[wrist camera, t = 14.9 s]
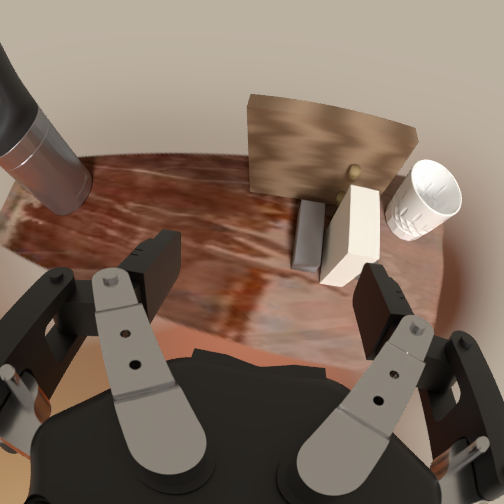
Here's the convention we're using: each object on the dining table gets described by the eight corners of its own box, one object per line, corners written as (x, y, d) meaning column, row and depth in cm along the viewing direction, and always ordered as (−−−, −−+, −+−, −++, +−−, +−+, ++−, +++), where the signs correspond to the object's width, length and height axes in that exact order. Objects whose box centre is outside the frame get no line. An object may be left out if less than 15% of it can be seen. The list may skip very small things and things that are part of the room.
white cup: (420, 254, 36) (459, 227, 27) (375, 230, 38) (406, 195, 28) (429, 211, 39) (463, 178, 29) (387, 188, 40) (415, 149, 30)
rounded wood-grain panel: (236, 260, 36) (223, 197, 21) (252, 179, 40) (250, 93, 25) (367, 280, 35) (432, 235, 20) (368, 200, 39) (416, 128, 24)
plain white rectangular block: (319, 283, 35) (348, 253, 24) (324, 232, 38) (350, 184, 26) (342, 286, 35) (379, 258, 24) (346, 235, 37) (379, 191, 26)
